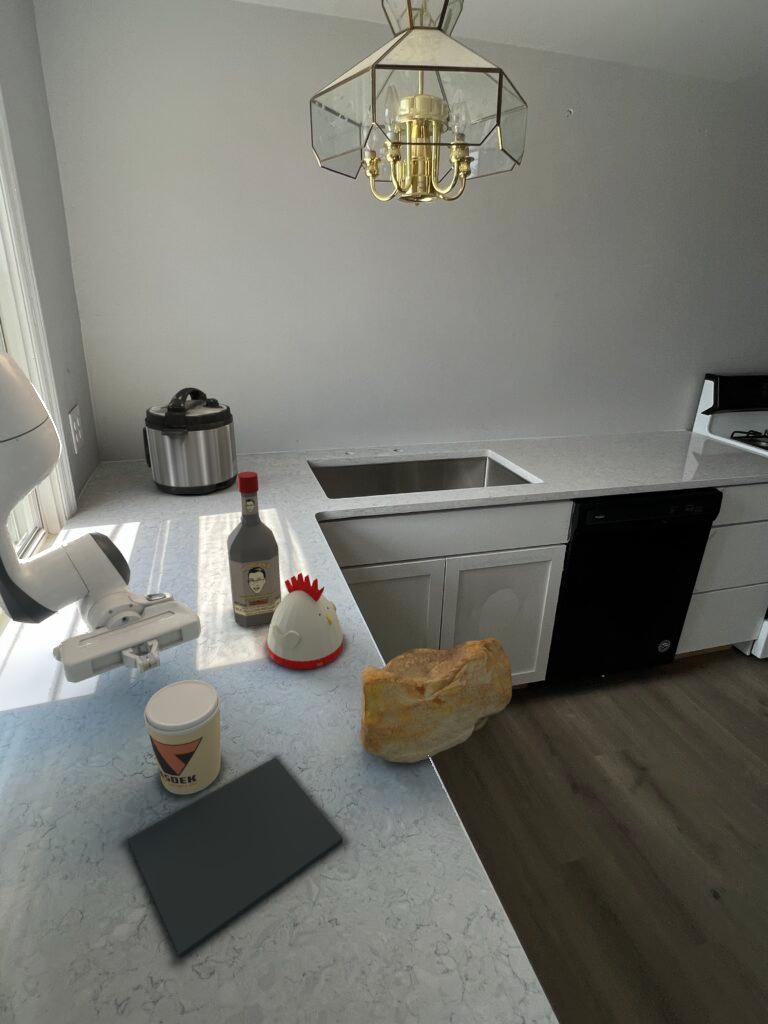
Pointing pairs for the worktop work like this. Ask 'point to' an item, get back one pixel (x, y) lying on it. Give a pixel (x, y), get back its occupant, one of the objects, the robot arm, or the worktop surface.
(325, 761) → the worktop surface
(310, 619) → the kitchen timer
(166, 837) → the slate mat
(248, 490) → the liquor
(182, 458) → the pressure cooker
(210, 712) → the coffee cup
